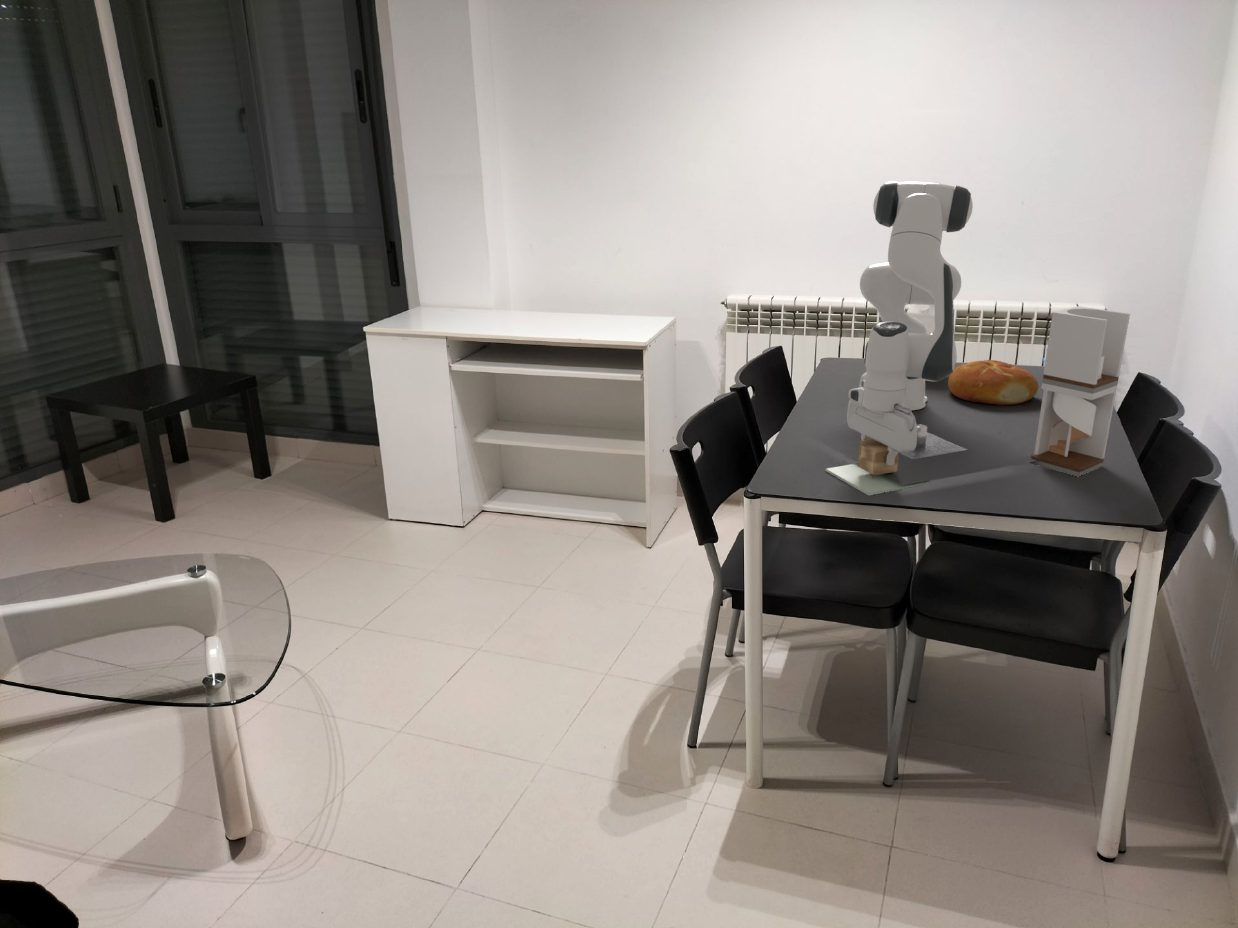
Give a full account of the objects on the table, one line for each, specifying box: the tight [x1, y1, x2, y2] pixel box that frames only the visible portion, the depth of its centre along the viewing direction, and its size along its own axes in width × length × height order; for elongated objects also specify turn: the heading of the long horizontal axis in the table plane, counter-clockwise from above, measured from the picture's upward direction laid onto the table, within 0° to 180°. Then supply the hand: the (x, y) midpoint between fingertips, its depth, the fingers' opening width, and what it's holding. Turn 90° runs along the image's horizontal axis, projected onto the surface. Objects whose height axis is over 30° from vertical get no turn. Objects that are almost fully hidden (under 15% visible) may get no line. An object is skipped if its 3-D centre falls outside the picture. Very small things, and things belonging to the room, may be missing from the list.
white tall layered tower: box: [1029, 305, 1131, 477], centre depth 204 cm, size 11×11×35 cm
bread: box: [947, 359, 1039, 406], centre depth 261 cm, size 23×23×10 cm
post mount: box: [899, 423, 968, 460], centre depth 220 cm, size 16×16×6 cm
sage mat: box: [825, 462, 931, 497], centre depth 205 cm, size 16×16×1 cm
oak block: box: [857, 438, 900, 475], centre depth 203 cm, size 6×6×6 cm
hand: (878, 458), depth 203 cm, fingers closed on oak block, 6 cm apart
